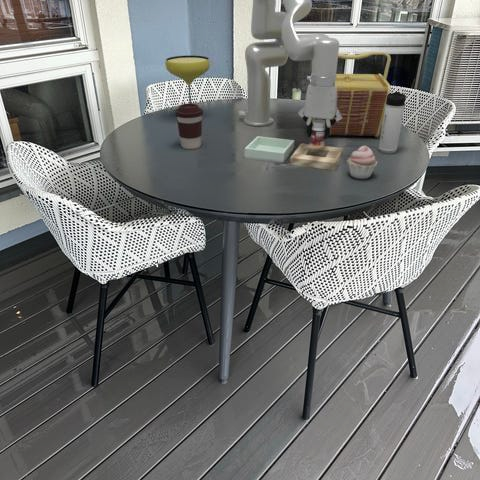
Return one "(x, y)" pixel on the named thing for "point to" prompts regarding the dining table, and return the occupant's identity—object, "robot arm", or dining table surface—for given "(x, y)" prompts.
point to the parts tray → (269, 149)
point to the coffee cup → (189, 125)
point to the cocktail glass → (188, 68)
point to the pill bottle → (318, 134)
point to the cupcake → (362, 163)
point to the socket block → (316, 156)
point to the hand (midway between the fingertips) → (318, 136)
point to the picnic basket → (360, 100)
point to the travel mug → (392, 122)
